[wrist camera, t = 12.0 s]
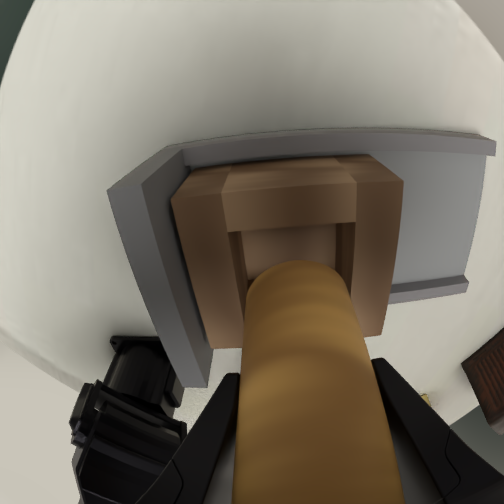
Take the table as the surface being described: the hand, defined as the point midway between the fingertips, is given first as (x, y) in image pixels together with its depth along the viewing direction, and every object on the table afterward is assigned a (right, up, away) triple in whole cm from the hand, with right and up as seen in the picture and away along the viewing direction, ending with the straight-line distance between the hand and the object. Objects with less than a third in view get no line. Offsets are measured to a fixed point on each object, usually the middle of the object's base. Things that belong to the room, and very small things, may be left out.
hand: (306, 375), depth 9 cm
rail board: (+4, +6, +11) cm, 13 cm away
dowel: (0, +2, +3) cm, 3 cm away
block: (+1, +5, +10) cm, 11 cm away
